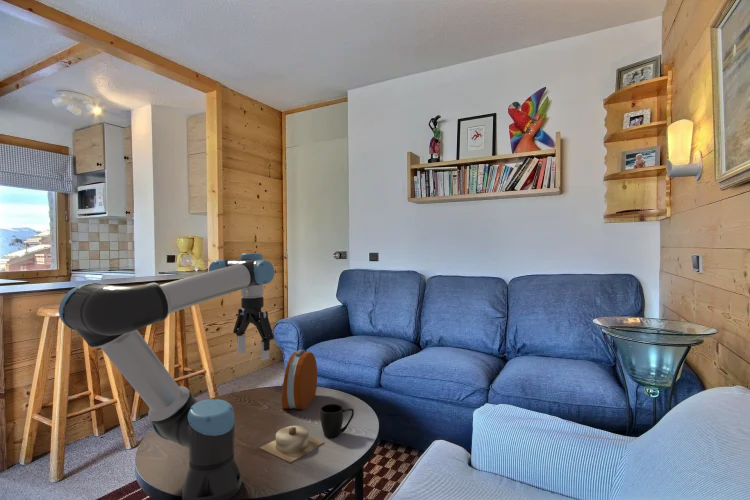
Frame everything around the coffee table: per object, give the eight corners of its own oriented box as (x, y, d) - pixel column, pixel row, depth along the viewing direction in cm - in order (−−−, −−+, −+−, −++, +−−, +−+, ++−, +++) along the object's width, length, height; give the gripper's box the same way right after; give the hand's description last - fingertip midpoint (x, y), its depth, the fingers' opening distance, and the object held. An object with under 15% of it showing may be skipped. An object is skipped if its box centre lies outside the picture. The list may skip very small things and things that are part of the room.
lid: (290, 457, 122) (290, 440, 122) (268, 446, 129) (268, 430, 129) (315, 443, 131) (315, 427, 131) (294, 433, 138) (293, 418, 138)
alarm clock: (297, 392, 179) (297, 343, 179) (317, 393, 177) (317, 344, 177) (277, 412, 157) (276, 357, 157) (300, 413, 155) (299, 358, 155)
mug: (354, 439, 134) (354, 412, 134) (319, 440, 133) (319, 413, 133) (353, 428, 143) (353, 402, 143) (321, 429, 141) (320, 404, 141)
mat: (290, 463, 119) (290, 462, 119) (259, 448, 128) (259, 447, 128) (323, 443, 132) (323, 442, 132) (293, 431, 140) (293, 430, 140)
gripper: (284, 297, 131) (284, 359, 131) (240, 293, 146) (241, 348, 146) (265, 300, 125) (266, 365, 125) (222, 295, 140) (223, 353, 140)
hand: (253, 356), depth 136 cm, fingers open, 13 cm apart
